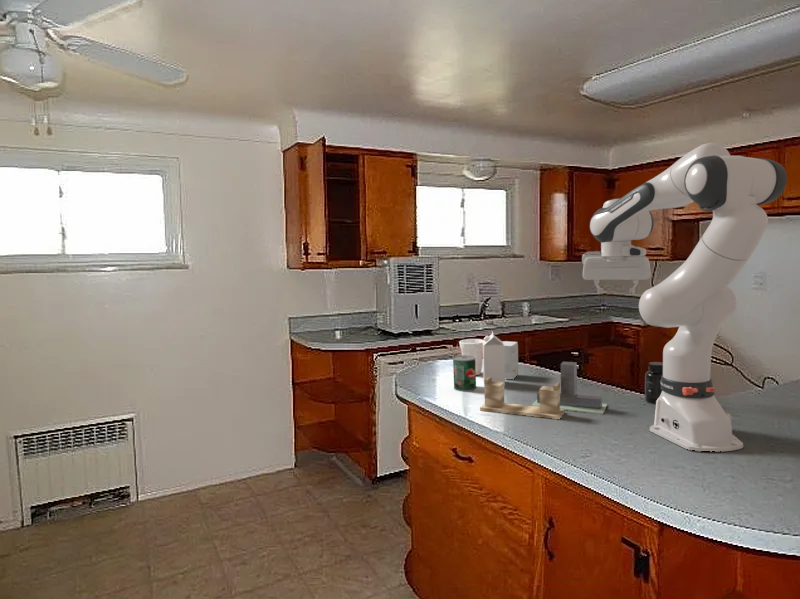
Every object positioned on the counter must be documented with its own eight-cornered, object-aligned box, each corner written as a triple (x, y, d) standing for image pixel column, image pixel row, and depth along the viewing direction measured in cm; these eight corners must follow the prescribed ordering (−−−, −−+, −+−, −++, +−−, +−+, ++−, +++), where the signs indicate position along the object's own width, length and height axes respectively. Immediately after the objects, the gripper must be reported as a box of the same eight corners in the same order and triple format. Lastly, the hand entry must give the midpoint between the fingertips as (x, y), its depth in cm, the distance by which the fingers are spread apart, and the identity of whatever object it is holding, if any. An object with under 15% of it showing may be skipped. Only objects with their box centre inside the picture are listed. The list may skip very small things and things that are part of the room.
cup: (490, 375, 211) (490, 341, 209) (467, 378, 207) (466, 344, 205) (477, 369, 220) (476, 337, 218) (455, 373, 216) (454, 340, 215)
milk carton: (503, 381, 201) (502, 330, 199) (505, 386, 194) (503, 333, 192) (483, 381, 201) (482, 331, 199) (484, 387, 194) (483, 334, 192)
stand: (564, 412, 163) (564, 381, 162) (559, 419, 157) (559, 387, 156) (487, 404, 175) (486, 375, 174) (480, 410, 168) (479, 380, 167)
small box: (502, 374, 212) (501, 340, 210) (518, 375, 209) (518, 341, 207) (496, 379, 205) (495, 344, 203) (512, 380, 202) (512, 345, 200)
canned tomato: (476, 391, 190) (475, 360, 189) (453, 391, 191) (452, 360, 190) (476, 385, 198) (475, 355, 196) (454, 385, 199) (453, 355, 198)
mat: (607, 405, 168) (607, 404, 168) (602, 414, 160) (602, 412, 160) (538, 398, 178) (538, 397, 178) (531, 406, 170) (531, 405, 170)
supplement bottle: (640, 399, 172) (640, 362, 171) (658, 397, 174) (658, 360, 173) (655, 405, 166) (655, 367, 165) (674, 403, 168) (674, 364, 166)
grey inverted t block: (602, 406, 166) (602, 364, 165) (600, 409, 163) (600, 367, 161) (539, 399, 175) (539, 359, 174) (536, 403, 172) (536, 362, 170)
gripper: (580, 251, 176) (580, 294, 177) (650, 250, 166) (649, 295, 168) (583, 251, 181) (583, 292, 183) (651, 249, 172) (651, 293, 173)
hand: (615, 294), depth 175 cm, fingers open, 8 cm apart
